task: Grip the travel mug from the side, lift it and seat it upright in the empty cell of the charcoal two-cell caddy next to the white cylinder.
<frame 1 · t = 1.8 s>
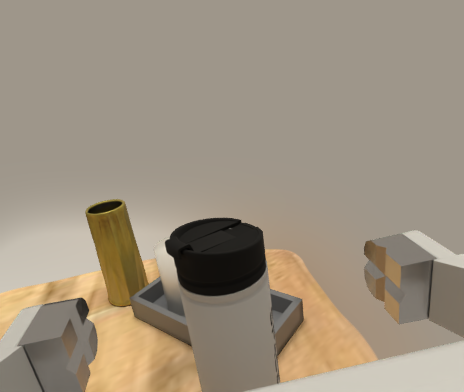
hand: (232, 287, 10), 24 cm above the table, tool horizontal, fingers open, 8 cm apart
caddy: (214, 317, 44), on the table
vase: (130, 294, 51), on the table
white cylinder: (186, 302, 46), point 1 cm above the table, touching caddy
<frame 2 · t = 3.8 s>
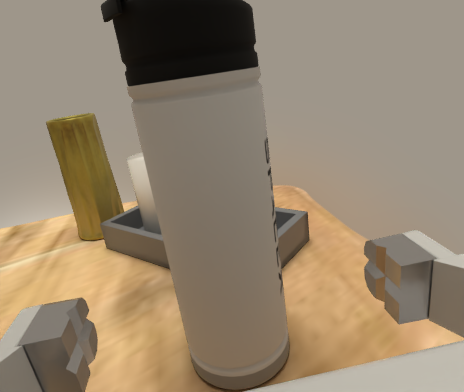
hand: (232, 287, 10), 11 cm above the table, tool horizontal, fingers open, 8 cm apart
caddy: (201, 243, 36), on the table
vase: (104, 230, 44), on the table
travel mug: (238, 353, 22), on the table
white cylinder: (169, 231, 39), point 1 cm above the table, touching caddy
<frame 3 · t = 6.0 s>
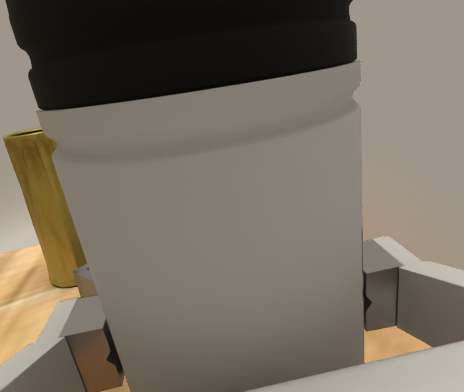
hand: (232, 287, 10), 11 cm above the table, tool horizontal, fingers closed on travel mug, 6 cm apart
caddy: (206, 301, 27), on the table
vase: (83, 271, 35), on the table
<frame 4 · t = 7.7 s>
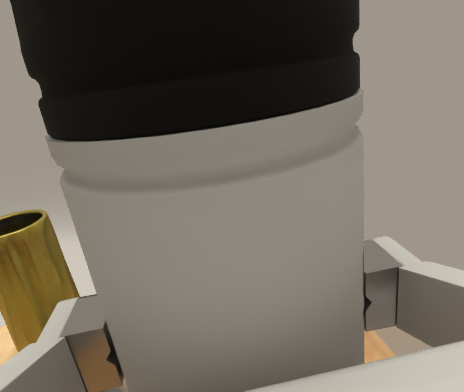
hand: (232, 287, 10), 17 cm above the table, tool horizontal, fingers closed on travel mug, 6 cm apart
vase: (68, 369, 30), on the table
when the fingers open (13 cm above the table, at t = 9.7 s): travel mug stays where it is, resting on caddy.
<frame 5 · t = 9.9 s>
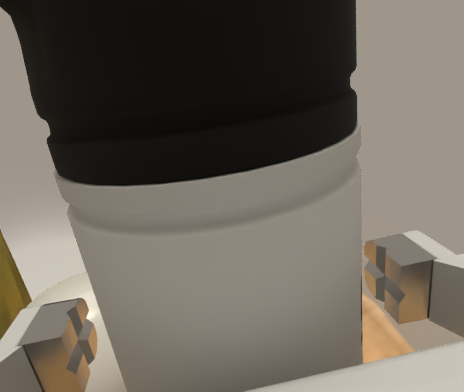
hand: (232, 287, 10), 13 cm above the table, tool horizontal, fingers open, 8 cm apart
vase: (18, 389, 24), on the table
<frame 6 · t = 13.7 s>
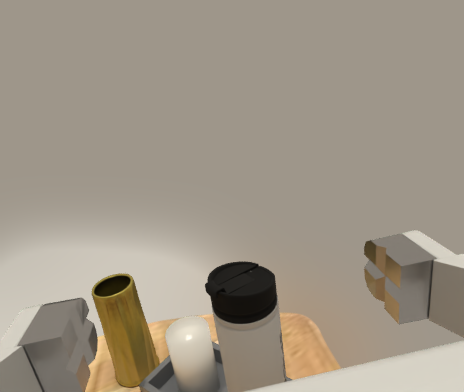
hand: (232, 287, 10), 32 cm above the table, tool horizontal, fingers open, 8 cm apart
vase: (138, 370, 49), on the table
white cylinder: (199, 386, 44), point 1 cm above the table, touching caddy
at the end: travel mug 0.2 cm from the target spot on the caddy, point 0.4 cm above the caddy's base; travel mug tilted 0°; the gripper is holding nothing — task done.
